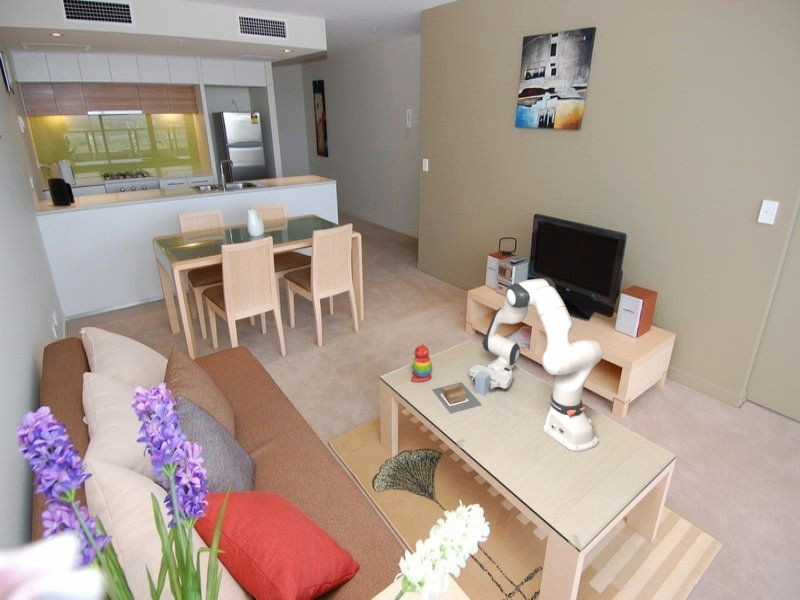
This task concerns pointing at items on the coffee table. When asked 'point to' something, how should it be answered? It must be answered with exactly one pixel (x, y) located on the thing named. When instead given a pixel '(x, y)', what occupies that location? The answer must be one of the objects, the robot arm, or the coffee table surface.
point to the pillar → (482, 383)
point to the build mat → (459, 406)
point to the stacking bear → (421, 365)
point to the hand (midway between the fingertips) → (481, 383)
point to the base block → (454, 394)
